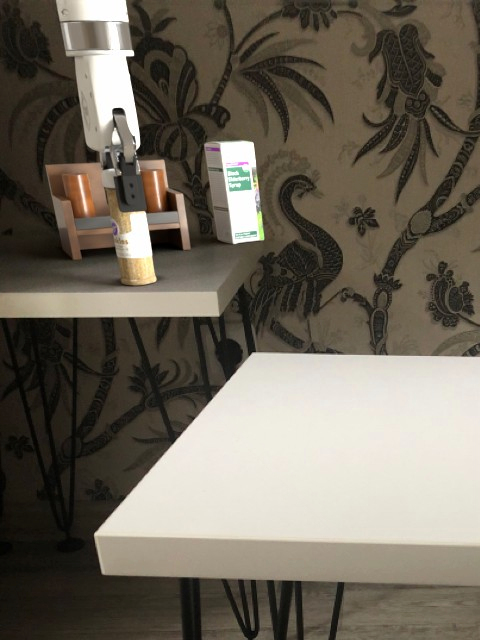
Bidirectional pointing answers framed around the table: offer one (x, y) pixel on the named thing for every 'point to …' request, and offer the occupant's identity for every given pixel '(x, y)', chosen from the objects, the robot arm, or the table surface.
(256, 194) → the syrup box
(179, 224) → the spice rack
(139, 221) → the sprinkles bottle
